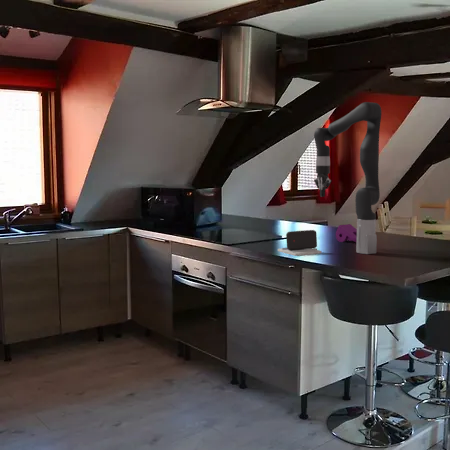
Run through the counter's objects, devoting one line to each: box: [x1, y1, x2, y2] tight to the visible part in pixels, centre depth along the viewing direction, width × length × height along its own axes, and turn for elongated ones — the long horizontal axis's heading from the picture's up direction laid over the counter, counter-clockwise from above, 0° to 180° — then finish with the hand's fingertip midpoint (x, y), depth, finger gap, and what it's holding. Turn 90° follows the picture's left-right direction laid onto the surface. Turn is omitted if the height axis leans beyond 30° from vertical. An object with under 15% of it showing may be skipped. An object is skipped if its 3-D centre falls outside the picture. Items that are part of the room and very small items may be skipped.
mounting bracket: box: [335, 223, 357, 243], centre depth 313 cm, size 9×8×18 cm
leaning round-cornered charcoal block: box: [285, 229, 318, 250], centre depth 279 cm, size 16×5×9 cm, turn 103°
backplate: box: [277, 247, 322, 257], centre depth 279 cm, size 16×16×1 cm
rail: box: [281, 247, 318, 252], centre depth 279 cm, size 10×15×1 cm, turn 117°
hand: (322, 196), depth 298 cm, fingers closed
